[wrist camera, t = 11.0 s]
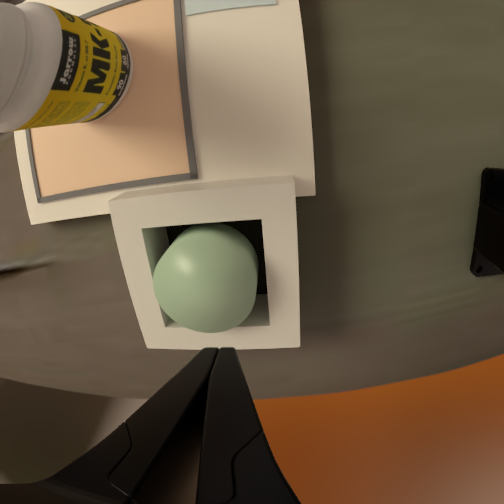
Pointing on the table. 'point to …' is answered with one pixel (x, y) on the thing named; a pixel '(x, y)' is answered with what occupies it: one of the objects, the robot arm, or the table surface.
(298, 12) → the colouring board
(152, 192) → the button box
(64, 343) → the table surface
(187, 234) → the button
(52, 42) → the supplement bottle
